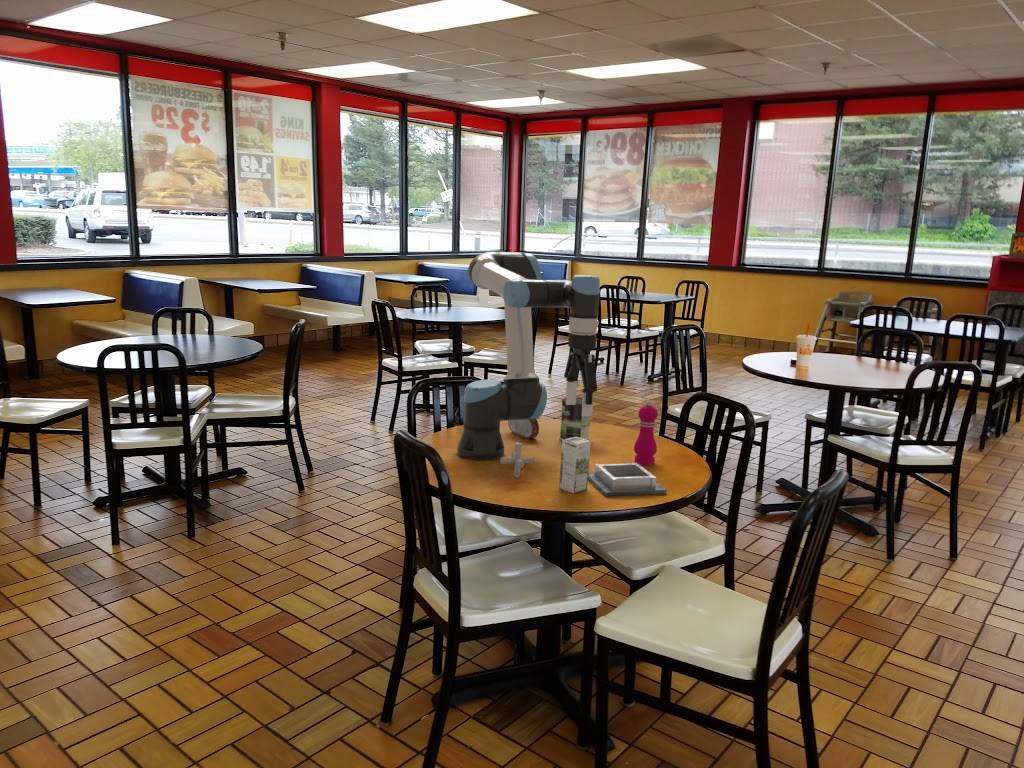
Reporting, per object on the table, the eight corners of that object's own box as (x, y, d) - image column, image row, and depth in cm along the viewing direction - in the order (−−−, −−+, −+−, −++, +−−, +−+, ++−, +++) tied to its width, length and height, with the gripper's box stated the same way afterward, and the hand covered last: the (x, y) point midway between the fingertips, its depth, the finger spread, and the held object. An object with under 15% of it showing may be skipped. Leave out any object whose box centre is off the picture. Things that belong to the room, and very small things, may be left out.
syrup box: (572, 484, 215) (575, 435, 212) (588, 490, 211) (591, 440, 208) (558, 488, 211) (561, 438, 208) (574, 494, 207) (577, 443, 204)
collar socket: (605, 496, 206) (606, 482, 205) (584, 476, 223) (585, 462, 222) (666, 493, 210) (667, 479, 210) (640, 473, 227) (641, 460, 227)
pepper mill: (644, 467, 234) (649, 404, 231) (628, 460, 240) (632, 399, 236) (660, 463, 239) (665, 402, 235) (644, 457, 244) (648, 397, 240)
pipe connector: (503, 482, 214) (504, 448, 212) (497, 471, 224) (498, 439, 222) (537, 481, 216) (539, 448, 214) (530, 470, 226) (531, 438, 224)
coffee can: (566, 444, 256) (568, 404, 254) (555, 436, 266) (557, 397, 263) (594, 443, 259) (596, 403, 257) (582, 435, 269) (584, 396, 266)
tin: (539, 440, 260) (540, 416, 259) (532, 441, 258) (533, 417, 257) (513, 430, 272) (514, 407, 270) (506, 431, 270) (507, 408, 268)
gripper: (613, 339, 192) (607, 420, 196) (580, 327, 215) (576, 399, 219) (585, 339, 190) (580, 421, 194) (555, 327, 213) (552, 400, 218)
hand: (578, 410), depth 207 cm, fingers open, 13 cm apart
